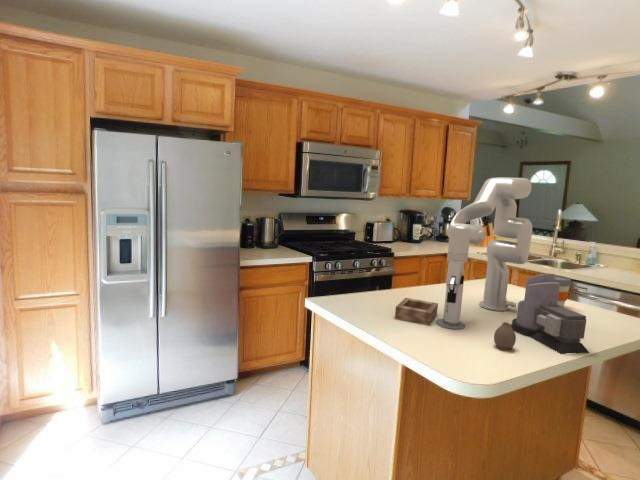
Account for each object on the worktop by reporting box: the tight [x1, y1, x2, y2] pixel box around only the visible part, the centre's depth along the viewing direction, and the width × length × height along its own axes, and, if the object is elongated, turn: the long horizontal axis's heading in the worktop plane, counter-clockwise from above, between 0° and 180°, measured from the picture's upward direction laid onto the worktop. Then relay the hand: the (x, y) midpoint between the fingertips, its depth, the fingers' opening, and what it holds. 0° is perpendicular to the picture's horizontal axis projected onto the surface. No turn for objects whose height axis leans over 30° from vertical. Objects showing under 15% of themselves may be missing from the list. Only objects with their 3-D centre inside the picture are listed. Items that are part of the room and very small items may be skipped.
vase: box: [493, 322, 517, 351], centre depth 142 cm, size 7×7×9 cm
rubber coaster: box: [435, 318, 466, 331], centre depth 164 cm, size 11×11×1 cm
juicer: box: [509, 273, 590, 355], centre depth 154 cm, size 30×16×24 cm, turn 11°
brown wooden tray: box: [394, 297, 439, 326], centre depth 171 cm, size 14×16×5 cm
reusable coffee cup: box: [555, 274, 572, 307], centre depth 195 cm, size 13×13×15 cm
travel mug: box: [442, 275, 465, 326], centre depth 163 cm, size 6×7×20 cm
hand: (452, 299), depth 162 cm, fingers open, 9 cm apart
